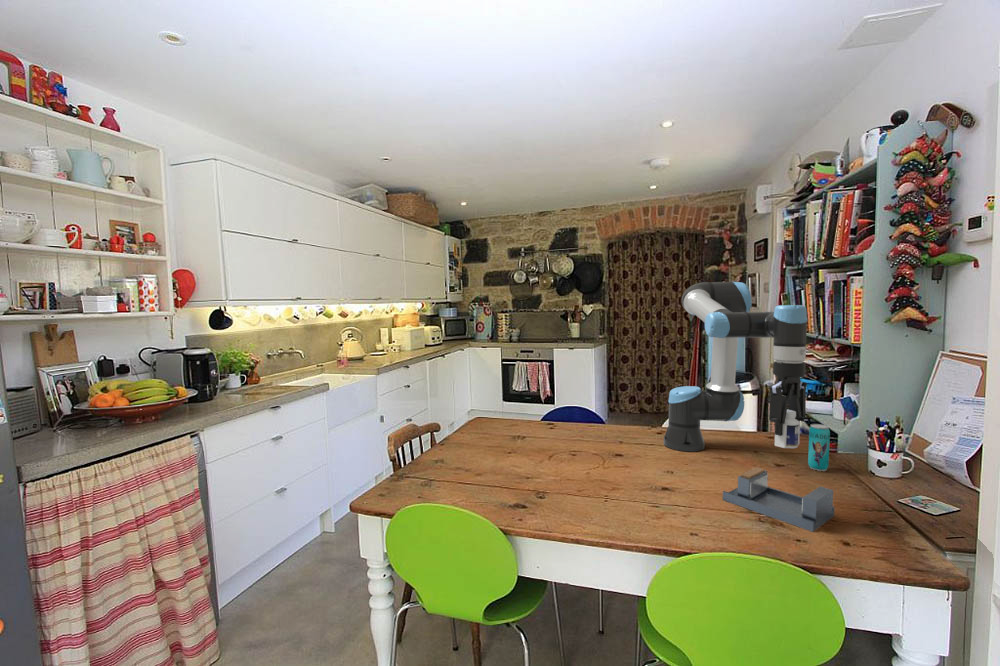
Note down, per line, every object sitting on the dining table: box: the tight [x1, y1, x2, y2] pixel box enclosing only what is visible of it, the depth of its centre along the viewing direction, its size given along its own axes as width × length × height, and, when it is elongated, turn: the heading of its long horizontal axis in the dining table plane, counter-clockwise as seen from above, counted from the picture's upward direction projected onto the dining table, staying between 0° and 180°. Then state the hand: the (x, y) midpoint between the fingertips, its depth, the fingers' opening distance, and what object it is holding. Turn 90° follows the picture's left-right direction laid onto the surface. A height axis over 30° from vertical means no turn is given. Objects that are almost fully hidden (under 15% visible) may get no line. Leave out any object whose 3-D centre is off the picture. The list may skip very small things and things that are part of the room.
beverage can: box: [807, 423, 831, 472], centre depth 155 cm, size 6×6×15 cm
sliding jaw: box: [737, 466, 769, 500], centre depth 132 cm, size 3×11×7 cm, turn 126°
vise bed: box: [722, 485, 835, 533], centre depth 127 cm, size 23×14×8 cm, turn 36°
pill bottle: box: [784, 409, 799, 449], centre depth 126 cm, size 5×5×10 cm
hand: (786, 444), depth 126 cm, fingers closed on pill bottle, 5 cm apart
